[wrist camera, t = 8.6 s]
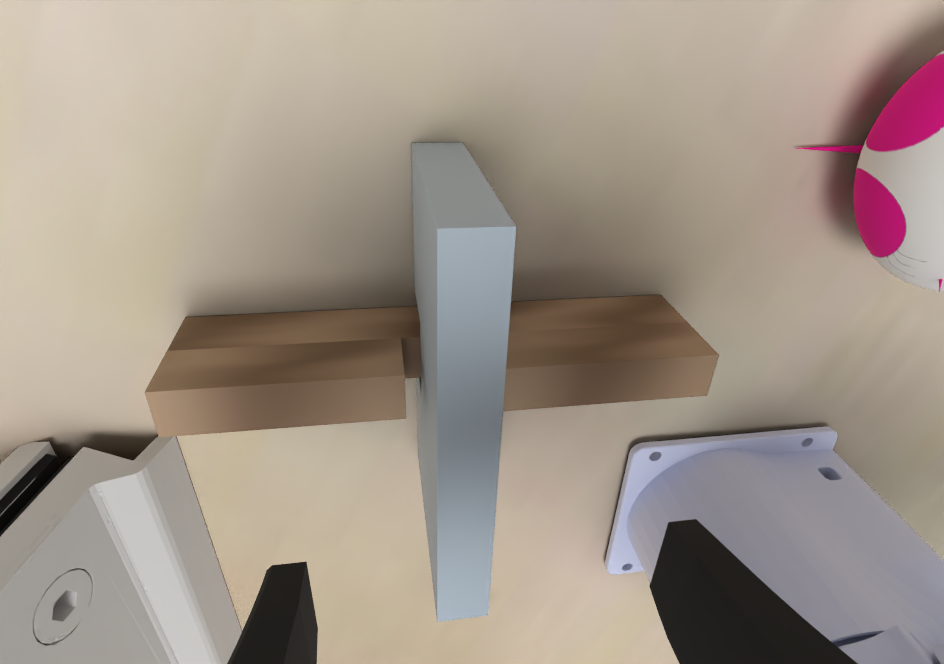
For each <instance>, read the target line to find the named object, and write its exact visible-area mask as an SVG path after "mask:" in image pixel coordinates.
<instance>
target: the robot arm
mask: <svg viewBox="0 0 944 664" xmlns="http://www.w3.org/2000/svg"><path fill="white" fill-rule="evenodd" d="M837 438H838V434H837V432H836V431H835V430H833V429H832V428H831V427H827V426H826V427H814V428H803V429H792V430H780V431H769V432H758V433H746V434H735V435H724V436H712V437H701V438H690V439H678V440H667V441H655V442H644V443H639V444H637V445H635V446H634V447H633V448H632V449H631V450H630V452H629V457H628V461H627V466H626V470H625V475H624V479H623V483H622V488H621V492H620V497H619V501H618V506H617V510H616V515H615V519H614V524H613V528H612V533H611V537H610V542H609V546H608V551H607V555H606V560H605V567H606V570H607V572H608V573H610V574H624V573H632V572H640V571H645V573H646V575H647V577H648V579H649V582H650V589H651V592H652V595H653V598H654V601H655V604H656V607H657V610H658V613H659V616H660V618H661V621H662V624H663V627H664V629H665V632H666V635H667V638H668V640H669V642H670V644H671V646H672V648H673V650H674V653H675V655H676V657H677V659H678V661H679V663H680V664H944V561H943V560H942V559H941V557H940V556H939V555H938V554H937V553H936V552H935V551H934V550H933V549H932V547H931V546H930V545H929V544H928V543H927V542H926V541H925V540H924V539H923V538H922V537H921V536H919V535H918V534H917V533H916V532H915V531H914V530H913V529H912V528H911V527H910V526H909V525H908V524H907V523H906V522H905V521H904V520H903V519H902V518H901V517H900V516H899V515H898V514H897V513H896V512H895V511H894V510H893V509H892V508H891V507H890V506H889V505H888V504H887V503H886V502H885V501H884V500H883V499H882V498H881V497H880V496H879V495H878V494H877V493H876V492H875V491H874V490H873V489H872V488H871V487H870V486H869V485H868V484H867V483H866V482H865V481H864V480H863V479H862V478H861V477H860V476H859V475H858V474H857V473H856V472H855V471H854V470H853V469H852V468H851V467H850V466H848V465H847V464H846V463H845V462H844V461H843V460H842V459H841V458H840V457H839V456H838V455H837V454H836V453H835V452H834V451H833V450H832V449H833V447H834V445H835V443H836V441H837ZM653 452H655V453H654V454H652V453H653ZM317 633H318V627H317V622H316V616H315V610H314V604H313V598H312V592H311V587H310V581H309V575H308V569H307V563H306V562H299V563H290V564H281V565H272V566H271V567H270V568H269V569H268V570H267V571H266V574H265V577H264V580H263V583H262V585H261V588H260V591H259V593H258V596H257V598H256V601H255V603H254V606H253V608H252V610H251V613H250V615H249V617H248V620H247V622H246V624H245V627H244V629H243V631H242V633H241V635H240V638H239V640H238V642H237V644H236V646H235V648H234V650H233V652H232V655H231V657H230V659H229V661H228V663H227V664H316V663H317Z"/></svg>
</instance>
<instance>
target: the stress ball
mask: <svg viewBox="0 0 944 664" xmlns="http://www.w3.org/2000/svg"><path fill="white" fill-rule="evenodd" d="M796 149H810V150H823V151H837V152H850V153H861V154H860V157H859V161H858V164H857V168H856V174H855V180H854V192H853V199H854V212H855V218H856V222H857V226H858V230H859V232H860V235H861V237H862V239H863V242H864V243H865V245H866V247H867V248H868V250H869V251H870V253H871V254H872V256H873V257H874V258H875V259H876V260H877V261H878V263H879V264H880V265H882V266H883V267H884V268H885V269H886V270H887V271H889V272H890V273H891V274H893V275H894V276H896V277H898V278H899V279H901V280H903V281H905V282H907V283H910V284H912V285H915V286H918V287H920V288H924V289H929V290H933V291H939V292H944V51H942V52H941V53H939V54H938V55H936V56H935V57H934V58H932V59H931V60H930V61H928V62H927V63H926V64H925V65H923V66H922V67H921V68H920V69H919V70H918V71H916V72H915V73H914V74H913V75H912V76H911V77H910V78H909V79H908V80H907V81H906V82H905V83H904V84H903V85H902V86H901V87H900V88H899V90H898V91H897V92H896V93H895V94H894V95H893V97H892V98H891V99H890V101H889V102H888V103H887V105H886V106H885V107H884V108H883V110H882V112H881V113H880V115H879V116H878V118H877V119H876V121H875V123H874V125H873V127H872V129H871V130H870V132H869V134H868V136H867V138H866V141H865V143H864V145H855V146H833V147H811V148H796Z"/></svg>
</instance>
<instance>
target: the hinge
mask: <svg viewBox="0 0 944 664" xmlns="http://www.w3.org/2000/svg"><path fill="white" fill-rule="evenodd" d="M241 633H242V631H241V628H240V625H239V622H238V619H237V616H236V613H235V610H234V607H233V604H232V601H231V598H230V595H229V592H228V589H227V586H226V583H225V580H224V577H223V574H222V571H221V568H220V566H219V563H218V560H217V557H216V554H215V551H214V548H213V545H212V542H211V539H210V536H209V533H208V530H207V527H206V524H205V521H204V518H203V515H202V512H201V509H200V506H199V503H198V500H197V497H196V495H195V492H194V489H193V486H192V483H191V480H190V477H189V474H188V471H187V468H186V465H185V462H184V459H183V456H182V453H181V450H180V447H179V444H178V441H177V438H176V436H170V437H159V436H157V437H156V438H155V439H154V440H153V441H152V442H151V443H150V444H149V445H148V447H147V448H146V449H145V450H144V451H143V452H142V453H141V454H140V455H139V456H138V457H137V458H136V459H135V460H129V459H125V458H122V457H118V456H115V455H111V454H108V453H104V452H101V451H97V450H94V449H90V448H86V447H83V448H82V449H81V450H80V451H79V452H78V453H77V454H76V455H75V456H74V457H73V458H72V457H69V458H68V459H67V460H66V461H65V463H64V464H63V465H62V464H61V462H60V460H59V458H58V456H57V455H56V454H55V452H54V450H53V448H52V446H51V444H50V443H49V441H48V442H31V443H27V444H24V445H21V446H19V447H18V448H17V449H16V450H14V451H13V452H12V453H11V454H10V455H9V456H8V457H7V458H6V459H5V460H4V461H3V462H2V463H1V464H0V664H227V663H228V661H229V659H230V657H231V655H232V652H233V650H234V648H235V646H236V644H237V642H238V640H239V638H240V635H241Z"/></svg>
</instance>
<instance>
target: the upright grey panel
mask: <svg viewBox="0 0 944 664" xmlns="http://www.w3.org/2000/svg"><path fill="white" fill-rule="evenodd" d="M411 154H412V199H413V244H414V288H415V294H416V300H417V306H418V312H419V318H420V338H421V377H419V378H416V379H417V424H418V459H419V468H420V476H421V485H422V494H423V502H424V511H425V519H426V528H427V537H428V545H429V554H430V563H431V571H432V580H433V589H434V597H435V606H436V615H437V622H441V621H449V620H456V619H464V618H472V617H479V616H487V615H488V610H489V596H490V582H491V568H492V555H493V541H494V527H495V513H496V500H497V486H498V472H499V458H500V444H501V431H502V417H503V403H504V389H505V376H506V362H507V348H508V334H509V320H510V307H511V293H512V279H513V265H514V252H515V238H516V225H515V224H514V222H513V221H512V219H511V217H510V216H509V214H508V213H507V211H506V210H505V208H504V206H503V205H502V203H501V202H500V200H499V199H498V197H497V195H496V194H495V192H494V191H493V189H492V188H491V186H490V184H489V183H488V181H487V180H486V178H485V177H484V175H483V174H482V172H481V170H480V169H479V167H478V166H477V164H476V163H475V161H474V159H473V158H472V156H471V155H470V153H469V152H468V150H467V148H466V147H465V145H464V144H463V143H411Z"/></svg>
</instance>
